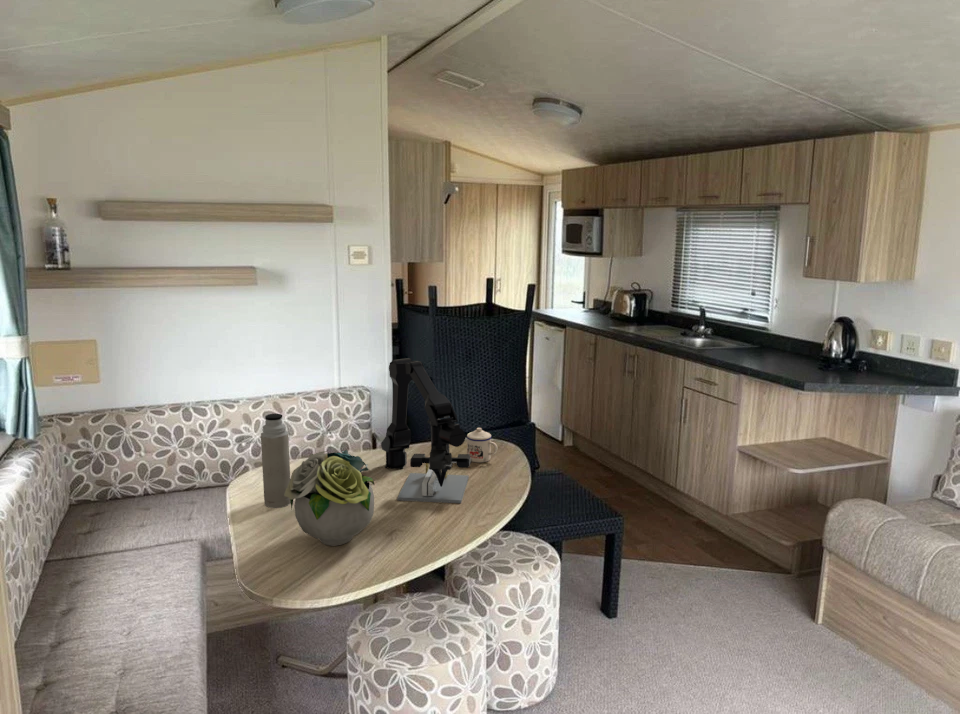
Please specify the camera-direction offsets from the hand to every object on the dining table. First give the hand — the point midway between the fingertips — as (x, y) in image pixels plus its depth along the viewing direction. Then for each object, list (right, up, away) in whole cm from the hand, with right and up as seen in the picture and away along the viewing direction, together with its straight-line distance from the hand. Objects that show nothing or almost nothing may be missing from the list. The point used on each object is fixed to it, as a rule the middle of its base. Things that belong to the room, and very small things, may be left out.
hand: (441, 486), depth 220 cm
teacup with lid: (+13, +4, +31) cm, 34 cm away
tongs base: (-3, -1, +4) cm, 5 cm away
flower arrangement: (-27, -9, -32) cm, 43 cm away
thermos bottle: (-50, -4, -8) cm, 51 cm away
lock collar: (-2, +1, +11) cm, 12 cm away
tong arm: (-2, 0, +3) cm, 4 cm away
